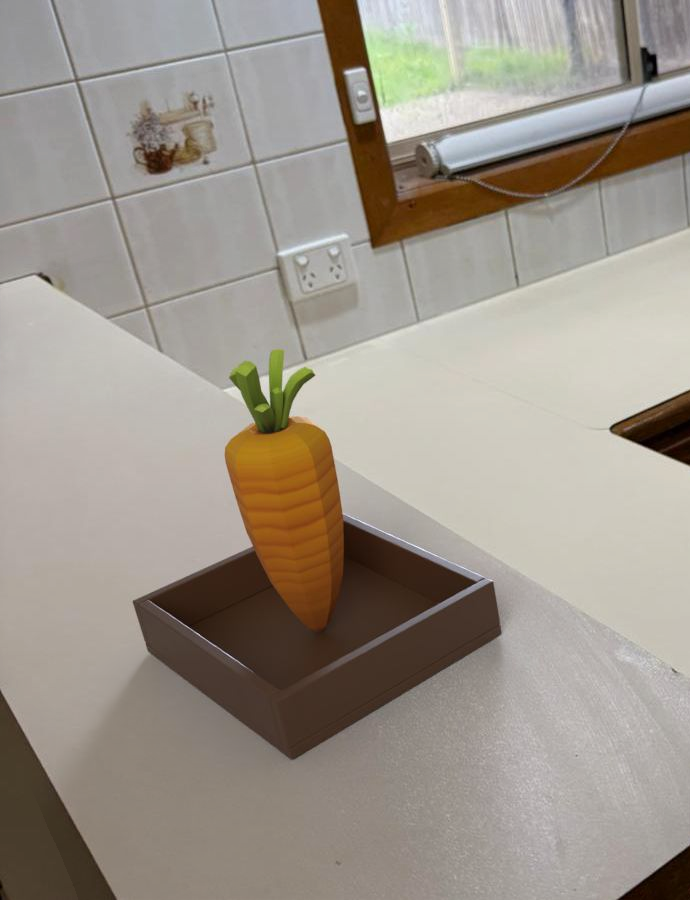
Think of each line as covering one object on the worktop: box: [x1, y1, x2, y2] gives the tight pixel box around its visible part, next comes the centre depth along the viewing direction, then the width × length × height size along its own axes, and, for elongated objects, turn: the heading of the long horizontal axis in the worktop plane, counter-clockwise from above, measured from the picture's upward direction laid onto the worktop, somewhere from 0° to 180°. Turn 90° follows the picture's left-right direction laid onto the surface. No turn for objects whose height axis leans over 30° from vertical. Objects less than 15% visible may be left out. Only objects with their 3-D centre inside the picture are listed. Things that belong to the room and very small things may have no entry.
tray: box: [132, 513, 502, 760], centre depth 58 cm, size 14×12×3 cm
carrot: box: [224, 348, 344, 633], centre depth 55 cm, size 5×5×15 cm
